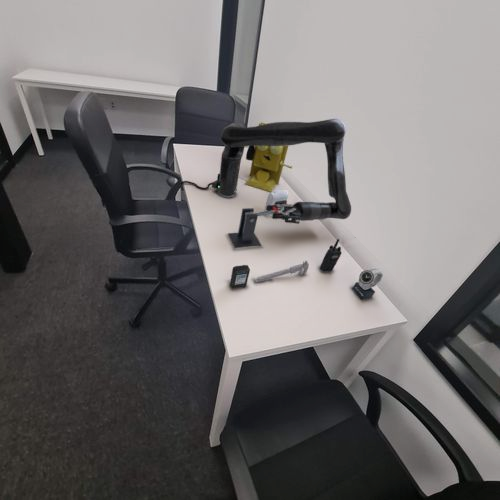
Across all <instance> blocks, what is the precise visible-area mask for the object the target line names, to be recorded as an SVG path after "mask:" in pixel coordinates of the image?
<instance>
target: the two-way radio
mask: <svg viewBox="0 0 500 500" xmlns="http://www.w3.org/2000/svg"><path fill="white" fill-rule="evenodd" d="M339 242H340V239H339V238H337V239H336V241H335V243H334V245H330V246H329V247H328V249H327V251H326V252H325V254H324V256H323V259H322V262H321V264H320V267H319V269H320V271H321V272H323V273H329V272H330V273H331V272H333V270H334V268H335V266H336V265H337V263H338V261H339V260H340V257H341V255H342V251H341V250H342V247H341V246H338V245H339Z"/></svg>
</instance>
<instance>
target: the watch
mask: <svg viewBox="0 0 500 500" xmlns="http://www.w3.org/2000/svg"><path fill="white" fill-rule="evenodd" d="M358 276H359V277H358V280H357V282H355V283H354V285H353V286H352V290H353V291H354V293H355V294H356V295H357V296H358V297H359V298H360V299H361V301H364V300H368V299H372V297H373V296H375V293H376V290H374V289H373V288H374V287H376V286H377V285H378V284H379V282H381V281H382V278H383V277H384V274H383V273H382V272H381V271H380V270H379V268H369V269H365V270H363V271H361V272H360V273H359V275H358Z"/></svg>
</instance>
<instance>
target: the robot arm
mask: <svg viewBox="0 0 500 500" xmlns="http://www.w3.org/2000/svg"><path fill="white" fill-rule="evenodd" d="M346 128H347V127H346V125H345V123H344V122H343V121H342V120H341V119H338V118H330V119H324V120H317V121H308V122H305V121H275V122H269V123H265V124H263V125H259V124H258V125H256V126H247V127H246V126H245V127H244V125H242V124H241V123H239V122H233V123H231V124H229V125H227V126H225V127H224V128H223V130H222V132H221V134H220V141H221V142H222V144H223V145H224V148H223V150H222V152H221V157H220V167H219V173H218V174H217V177H216V180H214V181H212V182H209V183H208V184H207V186H206V187H204V186H203V187H202V186H199V185H198V184H197V183H195V182H193V181H189V180H183V181H180V183H179V185H182V184H183V185H184V184H190V185H193V186H195V187H196V188H197V189H200V190H205V191H206V190H209V188H210V186H211V188H212V189H215V193H217V195H218V196H220V197H223V198H227V199H228V198H234V197H236V195H237V191H238V189H237V188H238V181H239V177H240V176H239V175H240V168H241V163H242V158H243V156H244V153H245V152H244V151H245V147H249V146H288V147H290V146H296V145H301V144H305V143H315V144H316V143H317V144H324V148H325V152H326V157H327V158H326V160H327V187H328V195H329V197H331V198H333V200H335V201H332V202H320V201H319V202H315V201H297V202H295V203H294V204H290V203H288V201H286V200H284V201H277V202H275V205H267V208H266V210H267V211H271V210H272V207H275V208H276V209H277V210H278V211H280V213H273V215H272V216H271V218H272V220H282V221H284V222H285V223H286V224H287V223H288V224H298V225H299V224H300V223H301V222H302V221H306V222H307V221H315V220H326V219H337V220H346V219H348V218H349V217H350V216H351V213H352V204H351V201H350V198H349V195H348V192H347V182H346V171H345V165H344V153H343V151H344V140H345V139H344V138H345V135H346V131H347V129H346ZM278 208H280V209H278ZM283 208H284V210H283Z"/></svg>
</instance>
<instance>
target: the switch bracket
mask: <svg viewBox="0 0 500 500" xmlns="http://www.w3.org/2000/svg"><path fill="white" fill-rule="evenodd" d="M250 211H252V212H253V213H255V212H254V211H255V208H253V207H250V208H242V209H241V214H240V220H239V225H238V231H237V232H230V233H229V232H228V233H227V235H228V237H229V240H230V241H231V243H232V245H233V247H234V249H239V248H251V247H260V246H262V244H261V242H260V240H259V238H258V237H257V235H256V233H255V231H256V230H255V229H256V225H257V221H258V219H259V216H258V215H257V214H246V217H245V212H250Z"/></svg>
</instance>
